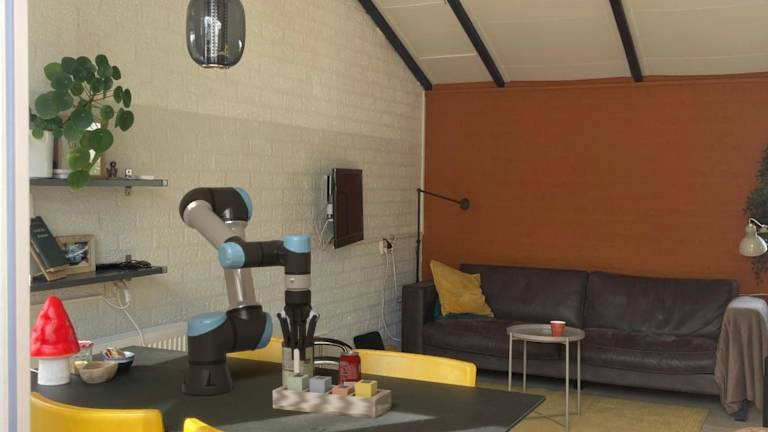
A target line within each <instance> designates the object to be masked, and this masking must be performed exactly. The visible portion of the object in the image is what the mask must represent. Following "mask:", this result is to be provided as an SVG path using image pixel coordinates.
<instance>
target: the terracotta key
mask: <svg viewBox="0 0 768 432" xmlns="http://www.w3.org/2000/svg"><path fill="white" fill-rule="evenodd" d="M353 392H354V386H348V385H339V384H338V385H337V386H336V387H334V388H332V394H334V395H345V396H348V395H350V394H352V393H353Z"/></svg>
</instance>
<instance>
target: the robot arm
mask: <svg viewBox="0 0 768 432" xmlns="http://www.w3.org/2000/svg"><path fill="white" fill-rule="evenodd" d="M178 213H179V216H180V219H181V220H182V222H183V223H184V224H185V225H186V226H187V227H188V228H191V229H194V230H195V231H197V232H198V233H199V234H200V235H201V236H202V237H203V238H204V239H205V240H206V241H207V242H208V243H209V244H210V245H211V246H212V247H213V248H214V249H215V250H216V251H217V259H218V262H219V265H220V267H222V268H223V274H224V280H225V286H226V293H227V299H228V307H227V308H226V310H225V311H220V310H219V311H216V310H215V311H209V312H208V311H207V312H204V313H198V314H195V315H193V316H192V317H190V318H189V319H188V321H187V329H186V330H187V331H186V335H187V336H186V337H187V339H186V341H187V342H186V343H187V367H186V370H185V374H184V377H183V380H182V383H181V388H182V389H181V392H182V393H183V394H186V395H191V396H212V395H214V396H215V395H221V394H226V393H229V392H230V391H232V390H233V379H232V377H231V373H230V371H229V367H228V365H227V363H228V362H227V355H228V354H233V353H242V352H250V351H251V352H253V351H257V350H262V349H265V348H266V347H267V346H268V345H269V344H270V342H271V339H272V335H273V329H274V325H273V319H272V316H271V315H270V313H269V312H266V311H264V309H263V304H261V303H260V302H258V300H257V298H256V293H255V285H254V278H253V274H252V269H253V268H270V267H271V268H272V267H283V268H284V269H283V270H284V274H283V275H284V289H285V290H284V307H283V310H281V311H280V312H277V313H276V317H277V319H278V321H279V325H280V328H281V332H282V333H281V334H282V337H283V341H284V343H285V346H286V347H287V346H288V347H290V348H291V358H292V360H294V373H300V372H302V371H303V361H304V360H305V359H306V348H308V347H310V346H312V343H313V341H314V336H315V333H316V328H317V323H318V321H319V319H320V318H321V317H320V316H321V315H320V313H316V312H315V311H314V310H313V306H312V304H311V303H312V290H311V288H312V275H311V274H312V273H311V271H312V245H311V237H310V236H309V235H308V234H286V235H285V236H284V238H283V240H281V239H270V240H264V241H263V240H262V241H259V240H258V241H257V240H256V241H247V238H246V234H245V233H246V232H245V230H246V228H247V227H248V225H249V221H251V218H252V216H253V204H252V200H251V197H250V195H249V194H248V192H247V191H246V190H244V189H243V188H241V187H234V186H228V187H227V186H226V187H225V186H224V187H220V186H215V187H213V186H211V187H210V186H209V187H208V186H207V187H205V186H201V187H195V188H193V189H191V190H189V191H187V193H185V194H184V195H183V196H182V198H181V200H180V201H179V206H178ZM288 319H289V321H288ZM308 319H310V320H309V322H308ZM307 324H308V327H307ZM298 339H299V345H298ZM298 347H299V348H298Z"/></svg>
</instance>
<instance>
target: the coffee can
mask: <svg viewBox="0 0 768 432" xmlns="http://www.w3.org/2000/svg"><path fill="white" fill-rule="evenodd" d="M280 343H281V365H282V366H281V367H282V368H281V369H282V372H281V373H282V379H281V380H282V386H284V385H286V384H287V377H289V376H291V375H294V374H301V375H309V383H310V379H311V378H313V377H315V376H316V375H315V367H316V366H315V363H316V362H315V343H316V341H315V340H313V343H312V346H310V347H308V348H306V359H305V360H304V361H303V371H302V372H300V373H294V360H292V358H291V348H290V347H288V346H287V347H286V346H285V343H284V340H283V341H281V342H280ZM298 345H299V338H298ZM298 348H299V347H298Z"/></svg>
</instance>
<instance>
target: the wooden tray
mask: <svg viewBox="0 0 768 432" xmlns="http://www.w3.org/2000/svg"><path fill="white" fill-rule="evenodd" d="M336 386H338V385H335V384H332V388H334V387H336ZM272 409H277V410H286V411H288V410H289V411H296V412H305V413H313V414H325V415H332V416H333V415H335V416H336V415H337V416H343V417H344V416H345V417H352V418H353V417H354V418H361V419H362V418H363V419H371V420H373V419H374V420H375V419H377V418H379V417H381V415H384V413H386V412H387V411H389V410H391V409H392V390H390V389H389V390H388V389H380V388H377V395H375V396H373V397H372V398H366V397H356V396H355V387H354V392H353V393H352V394H350V395H348V396H345V395H334V394H332V390H330V391H328V392H326V393H313V392H310V383H309V388H308V389H306V390H304V391H292V390H288V388H287V384H286V385H284V386H283V385H281V386H279V387H278V388H276V389H273V390H272Z"/></svg>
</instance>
